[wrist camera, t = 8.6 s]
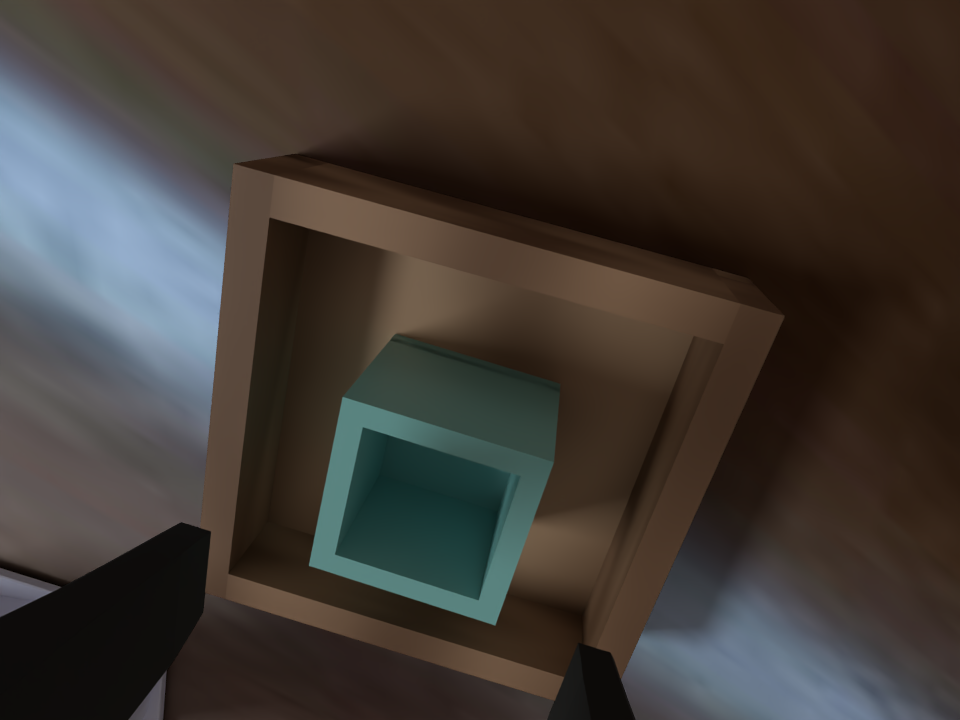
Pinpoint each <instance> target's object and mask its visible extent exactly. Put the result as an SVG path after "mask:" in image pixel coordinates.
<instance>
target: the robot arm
mask: <svg viewBox="0 0 960 720" xmlns="http://www.w3.org/2000/svg"><path fill="white" fill-rule="evenodd" d="M210 539H211V531H208V530H205V529H202V528H198V527H195V526H192V525H189V524H185V523H182V522H181V523H179V524H177V525H175V526H173V527H171V528H170V529H168V530H166V531H164V532H162V533H160V534H159V535H157V536H155V537H153V538H151V539H150V540H148V541H146V542H144V543H142V544H141V545H139V546H137V547H135V548H133V549H132V550H130V551H128V552H126V553H124V554H123V555H121V556H119V557H117V558H115V559H114V560H112V561H110V562H108V563H106V564H104V565H103V566H101V567H99V568H97V569H95V570H93V571H91V572H89V573H88V574H86V575H84V576H82V577H80V578H78V579H76V580H74V581H73V582H71V583H69V584H67V585H65V586H63V587H60V586H56V585H53V584H50V583H47V582H44V581H40V580H37V579H34V578H31V577H28V576H24V575H21V574H18V573H15V572H12V571H8V570H5V569H2V568H0V720H163V713H164V700H165V687H166V673H167V669H168V668H169V666H170V665H171V664H172V663H173V661H174V659H175V658H176V656H177V655H178V653H179V651H180V650H181V648H182V647H183V645H184V643H185V642H186V640H187V639H188V637H189V635H190V633H191V632H192V630H193V628H194V627H195V625H196V623H197V622H198V620H199V618H200V617H201V615H202V613H203V608H204V598H205V588H206V579H207V569H208V559H209V549H210ZM547 720H635V717H634V714H633V712H632V709H631V706H630V704H629V701H628V698H627V696H626V693H625V690H624V687H623V684H622V681H621V678H620V675H619V672H618V670H617V667H616V664H615V660H614V658H613V656H612V654H611V653H610V652H608V651H604V650H601V649H598V648H595V647H591V646H588V645H585V644H581V643H578V644H577V647H576V649H575V652H574V654H573V657H572V659H571V662H570V664H569V667H568V669H567V672H566V674H565V677H564V679H563V682H562V684H561V687H560V689H559V692H558V694H557V696H556V699H555V701H554V704H553V706H552V709H551V711H550V714H549V716H548V719H547Z"/></svg>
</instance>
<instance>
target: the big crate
mask: <svg viewBox="0 0 960 720" xmlns="http://www.w3.org/2000/svg"><path fill="white" fill-rule="evenodd" d="M784 317H785V316H784V314H783V313H782V312H781V311H780V310H779V309H778V308H777V307H776V306H775V305H774V304H773V303H772V302H771V301H770V300H769V299H768V298H767V297H766V296H765V295H764V294H763V293H762V292H761V291H760V290H759V289H758V288H757V286H756V285H755V284H754V283H753V282H752V281H751V280H750V279H749V278H746V277H743V276H739V275H735V274H732V273H728V272H724V271H721V270H717V269H713V268H710V267H706V266H702V265H699V264H695V263H692V262H688V261H684V260H681V259H677V258H673V257H670V256H666V255H662V254H659V253H655V252H651V251H648V250H644V249H640V248H637V247H633V246H630V245H626V244H622V243H619V242H615V241H611V240H608V239H604V238H600V237H597V236H593V235H589V234H586V233H582V232H578V231H575V230H571V229H567V228H564V227H560V226H557V225H553V224H549V223H546V222H542V221H538V220H535V219H531V218H527V217H524V216H520V215H516V214H513V213H509V212H505V211H502V210H498V209H495V208H491V207H487V206H484V205H480V204H476V203H473V202H469V201H465V200H462V199H458V198H454V197H451V196H447V195H443V194H440V193H436V192H433V191H429V190H425V189H422V188H418V187H414V186H411V185H407V184H403V183H400V182H396V181H392V180H389V179H385V178H381V177H378V176H374V175H370V174H367V173H363V172H360V171H356V170H352V169H349V168H345V167H341V166H338V165H334V164H330V163H327V162H323V161H319V160H316V159H312V158H308V157H305V156H301V155H298V154H291V155H285V156H279V157H272V158H266V159H260V160H254V161H248V162H241V163H235V164H233V175H232V186H231V197H230V208H229V219H228V230H227V241H226V252H225V263H224V274H223V285H222V296H221V307H220V317H219V328H218V339H217V350H216V361H215V372H214V383H213V394H212V405H211V416H210V427H209V438H208V449H207V460H206V471H205V482H204V493H203V504H202V515H201V526H200V528H202V529H205V530H208V531H211V539H210V549H209V559H208V569H207V579H206V588H205V593H207V594H211V595H214V596H217V597H220V598H224V599H227V600H230V601H233V602H237V603H240V604H243V605H246V606H250V607H253V608H256V609H259V610H262V611H266V612H269V613H272V614H275V615H279V616H282V617H285V618H288V619H292V620H295V621H298V622H301V623H305V624H308V625H311V626H314V627H317V628H321V629H324V630H327V631H330V632H334V633H337V634H340V635H343V636H347V637H350V638H353V639H356V640H359V641H363V642H366V643H369V644H372V645H376V646H379V647H382V648H385V649H389V650H392V651H395V652H398V653H402V654H405V655H408V656H411V657H414V658H418V659H421V660H424V661H427V662H431V663H434V664H437V665H440V666H444V667H447V668H450V669H453V670H456V671H460V672H463V673H466V674H469V675H473V676H476V677H479V678H482V679H486V680H489V681H492V682H495V683H499V684H502V685H505V686H508V687H511V688H515V689H518V690H521V691H524V692H528V693H531V694H534V695H537V696H541V697H544V698H547V699H550V700H554V701H555V699H556V696H557V694H558V692H559V689H560V687H561V684H562V682H563V679H564V677H565V674H566V672H567V669H568V667H569V664H570V662H571V659H572V657H573V654H574V652H575V649H576V647H577V644H578V643H581V644H585V645H588V646H591V647H595V648H598V649H601V650H604V651H608V652H610V653H611V654H612V656H613V658H614V660H615V664H616V667H617V670H618V672H619V675H620V678H622V675H623V673H624V671H625V669H626V667H627V664H628V662H629V660H630V658H631V656H632V653H633V651H634V649H635V647H636V644H637V642H638V640H639V638H640V636H641V633H642V631H643V629H644V627H645V625H646V622H647V620H648V618H649V616H650V614H651V611H652V609H653V607H654V605H655V602H656V600H657V598H658V596H659V594H660V591H661V589H662V587H663V585H664V583H665V580H666V578H667V576H668V574H669V571H670V569H671V567H672V565H673V563H674V560H675V558H676V556H677V554H678V552H679V549H680V547H681V545H682V543H683V541H684V538H685V536H686V534H687V532H688V529H689V527H690V525H691V523H692V521H693V518H694V516H695V514H696V512H697V510H698V507H699V505H700V503H701V501H702V499H703V496H704V494H705V492H706V490H707V487H708V485H709V483H710V481H711V479H712V476H713V474H714V472H715V470H716V468H717V465H718V463H719V461H720V459H721V456H722V454H723V452H724V450H725V448H726V445H727V443H728V441H729V439H730V437H731V434H732V432H733V430H734V428H735V426H736V423H737V421H738V419H739V417H740V414H741V412H742V410H743V408H744V406H745V403H746V401H747V399H748V397H749V395H750V392H751V390H752V388H753V386H754V383H755V381H756V379H757V377H758V375H759V372H760V370H761V368H762V366H763V364H764V361H765V359H766V357H767V355H768V353H769V350H770V348H771V346H772V344H773V341H774V339H775V337H776V335H777V333H778V330H779V328H780V326H781V324H782V322H783V319H784ZM395 334H398V335H401V336H405V337H408V338H411V339H415V340H418V341H421V342H424V343H428V344H431V345H434V346H438V347H441V348H444V349H447V350H451V351H454V352H457V353H461V354H464V355H467V356H471V357H474V358H477V359H480V360H484V361H487V362H490V363H494V364H497V365H500V366H503V367H507V368H510V369H513V370H517V371H520V372H523V373H526V374H530V375H533V376H536V377H540V378H543V379H546V380H549V381H553V382H556V383H559V384H560V396H559V408H558V420H557V432H556V444H555V456H554V463H553V466H552V469H551V472H550V475H549V477H548V480H547V483H546V486H545V489H544V491H543V494H542V497H541V500H540V502H539V505H538V508H537V511H536V514H535V516H534V519H533V522H532V525H531V527H530V530H529V533H528V536H527V539H526V541H525V544H524V547H523V550H522V552H521V555H520V558H519V561H518V564H517V566H516V569H515V572H514V575H513V578H512V580H511V583H510V586H509V589H508V591H507V594H506V597H505V600H504V603H503V605H502V608H501V611H500V614H499V616H498V619H497V622H496V625H492V624H489V623H486V622H483V621H480V620H477V619H474V618H471V617H467V616H464V615H461V614H458V613H455V612H452V611H449V610H446V609H442V608H439V607H436V606H433V605H430V604H427V603H424V602H421V601H418V600H414V599H411V598H408V597H405V596H402V595H399V594H396V593H393V592H389V591H386V590H383V589H380V588H377V587H374V586H371V585H368V584H365V583H361V582H358V581H355V580H352V579H349V578H346V577H343V576H340V575H336V574H333V573H330V572H327V571H324V570H321V569H318V568H315V567H312V566H309V562H310V557H311V552H312V547H313V542H314V537H315V532H316V527H317V522H318V517H319V512H320V507H321V502H322V497H323V492H324V487H325V482H326V478H327V473H328V468H329V463H330V458H331V453H332V448H333V443H334V438H335V433H336V428H337V423H338V418H339V413H340V408H341V403H342V398H343V396H344V395H345V393H346V392H347V391H348V390H349V389H350V387H351V386H352V385H353V384H354V383H355V381H356V380H357V379H358V378H359V377H360V375H361V374H362V373H363V372H364V371H365V369H366V368H367V367H368V366H369V365H370V363H371V362H372V361H373V360H374V359H375V357H376V356H377V355H378V354H379V353H380V351H381V350H382V349H383V348H384V347H385V345H386V344H387V343H388V342H389V341H390V339H391V338H392V337H393V336H394V335H395Z"/></svg>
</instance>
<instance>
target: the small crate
mask: <svg viewBox="0 0 960 720" xmlns="http://www.w3.org/2000/svg"><path fill="white" fill-rule="evenodd" d="M559 396H560V384H559V383H556V382H553V381H549V380H546V379H543V378H540V377H536V376H533V375H530V374H526V373H523V372H520V371H517V370H513V369H510V368H507V367H503V366H500V365H497V364H494V363H490V362H487V361H484V360H480V359H477V358H474V357H471V356H467V355H464V354H461V353H457V352H454V351H451V350H447V349H444V348H441V347H438V346H434V345H431V344H428V343H424V342H421V341H418V340H415V339H411V338H408V337H405V336H401V335H398V334H395V335H394V336H393V337H392V338H391V339H390V341H389V342H388V343H387V344H386V345H385V347H384V348H383V349H382V350H381V351H380V353H379V354H378V355H377V356H376V357H375V359H374V360H373V361H372V362H371V363H370V365H369V366H368V367H367V368H366V369H365V371H364V372H363V373H362V374H361V375H360V377H359V378H358V379H357V380H356V381H355V383H354V384H353V385H352V386H351V387H350V389H349V390H348V391H347V392H346V393H345V395H344V396H343V398H342V403H341V408H340V413H339V418H338V423H337V428H336V433H335V438H334V443H333V448H332V453H331V458H330V463H329V468H328V473H327V478H326V482H325V487H324V492H323V497H322V502H321V507H320V512H319V517H318V522H317V527H316V532H315V537H314V542H313V547H312V552H311V557H310V562H309V566H312V567H315V568H318V569H321V570H324V571H327V572H330V573H333V574H336V575H340V576H343V577H346V578H349V579H352V580H355V581H358V582H361V583H365V584H368V585H371V586H374V587H377V588H380V589H383V590H386V591H389V592H393V593H396V594H399V595H402V596H405V597H408V598H411V599H414V600H418V601H421V602H424V603H427V604H430V605H433V606H436V607H439V608H442V609H446V610H449V611H452V612H455V613H458V614H461V615H464V616H467V617H471V618H474V619H477V620H480V621H483V622H486V623H489V624H492V625H496V622H497V619H498V616H499V614H500V611H501V608H502V605H503V603H504V600H505V597H506V594H507V591H508V589H509V586H510V583H511V580H512V578H513V575H514V572H515V569H516V566H517V564H518V561H519V558H520V555H521V552H522V550H523V547H524V544H525V541H526V539H527V536H528V533H529V530H530V527H531V525H532V522H533V519H534V516H535V514H536V511H537V508H538V505H539V502H540V500H541V497H542V494H543V491H544V489H545V486H546V483H547V480H548V477H549V475H550V472H551V469H552V466H553V463H554V456H555V444H556V432H557V420H558V408H559Z"/></svg>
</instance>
